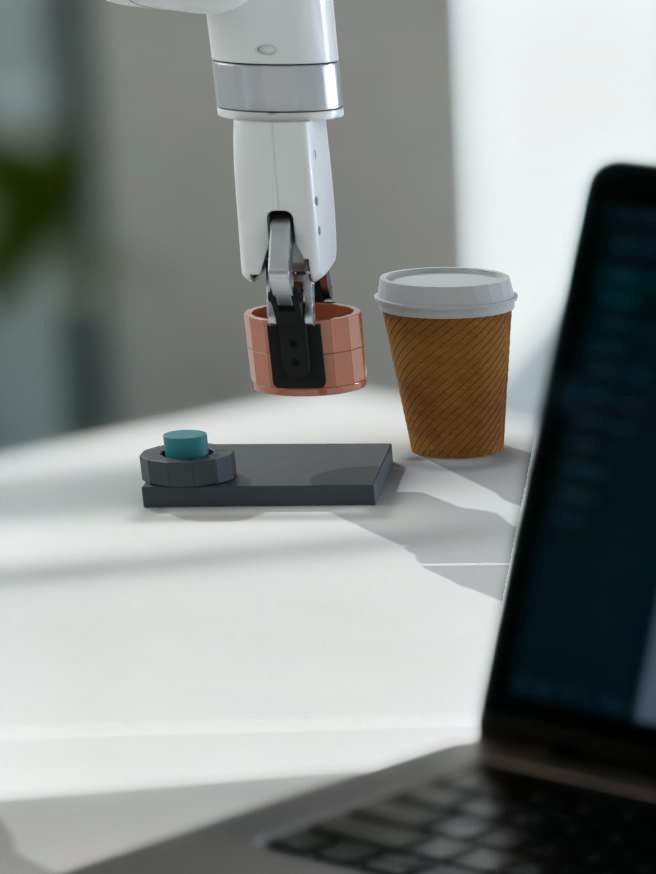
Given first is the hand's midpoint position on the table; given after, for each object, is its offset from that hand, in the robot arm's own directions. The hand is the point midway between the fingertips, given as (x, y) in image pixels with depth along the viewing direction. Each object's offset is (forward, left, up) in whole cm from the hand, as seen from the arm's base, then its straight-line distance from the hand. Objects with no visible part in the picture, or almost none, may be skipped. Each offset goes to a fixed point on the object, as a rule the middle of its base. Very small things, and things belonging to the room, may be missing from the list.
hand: (308, 372), depth 156 cm
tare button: (-7, -5, -4) cm, 10 cm away
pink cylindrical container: (0, 0, -1) cm, 1 cm away
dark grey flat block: (-3, -2, -7) cm, 8 cm away
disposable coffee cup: (+8, +8, -7) cm, 14 cm away
